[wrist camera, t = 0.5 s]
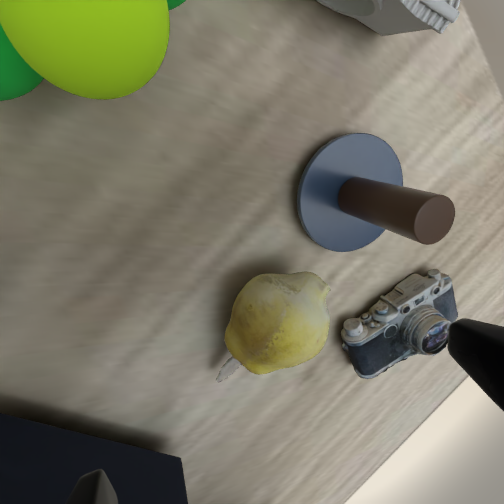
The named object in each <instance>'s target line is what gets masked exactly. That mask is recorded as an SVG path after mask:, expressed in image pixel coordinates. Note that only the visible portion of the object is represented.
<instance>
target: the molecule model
mask: <svg viewBox="0 0 504 504" xmlns="http://www.w3.org/2000/svg"><path fill="white" fill-rule="evenodd" d="M185 1H186V0H0V101H3V100H9V99H14V98H17V97H20V96H22V95H24V94H26V93H28V92H30V91H31V90H33V89H34V88H35V87H36V86H38V85H39V84H40V82H41V81H42V80H43V79H44V78H45V79H46V80H47V81H49V82H50V83H52V84H54V85H55V86H57V87H59V88H61V89H63V90H65V91H67V92H69V93H72V94H75V95H78V96H81V97H86V98H91V99H115V98H120V97H123V96H126V95H129V94H131V93H133V92H135V91H137V90H138V89H140V88H141V87H143V86H144V85H145V84H146V83H147V82H148V81H149V80H150V79H151V78H152V77H153V76H154V75H155V73H156V72H157V70H158V69H159V67H160V65H161V63H162V61H163V59H164V56H165V53H166V50H167V45H168V40H169V31H170V20H169V10H171V9H174V8H176V7H178V6H179V5H181V4H182V3H183V2H185Z"/></svg>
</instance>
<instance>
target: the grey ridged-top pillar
mask: <svg viewBox="0 0 504 504" xmlns="http://www.w3.org/2000/svg"><path fill="white" fill-rule="evenodd" d="M316 1H318V2H319V3H321V4H322V5H324V6H326V7H328V8H329V9H331V10H334V11H336V12H338V13H341V14H343V15H347V16H350V17H353V18H355V19H357V20H358V21H360V22H361V23H363V24H365V25H366V26H368V27H369V28H371V29H372V30H374V31H375V32H377V33H378V34H380V35H381V36H385V35H392V34H399V33H406V32H413V31H420V30H427V29H433V30H435V31H436V32H438V33H439V34H440V33H443V31H444V30H445V28H446V27H447V26H448V24H449V23H450V22H451V23H453V22H455V21H456V19H457V18H458V16H459V11H458V10H457V9H458V6H459V3H460V0H316Z"/></svg>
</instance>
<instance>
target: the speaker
mask: <svg viewBox="0 0 504 504" xmlns="http://www.w3.org/2000/svg"><path fill="white" fill-rule="evenodd" d="M98 469H102V470H103V471H104V472H105V474H106V476H107V477H108V479H109V481H110V483H111V485H112V487H113V489H114V491H115V493H116V496H117V500H118V504H188V500H187V494H186V487H185V481H184V474H183V468H182V462H181V458H179V457H175V456H171V455H167V454H163V453H159V452H155V451H151V450H147V449H143V448H139V447H135V446H131V445H127V444H123V443H119V442H115V441H111V440H107V439H103V438H99V437H95V436H91V435H86V434H82V433H78V432H74V431H70V430H66V429H62V428H58V427H54V426H50V425H46V424H42V423H38V422H34V421H30V420H26V419H22V418H18V417H14V416H10V415H6V414H2V413H0V504H65V503H66V502H67V500H68V498H69V496H70V494H71V493H72V491H73V489H74V487H75V485H76V483H77V482H78V480H79V479H80V478H81V477H82V476H83V475H85V474H88V473H90V472H93V471H95V470H98Z"/></svg>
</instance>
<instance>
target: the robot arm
mask: <svg viewBox="0 0 504 504" xmlns="http://www.w3.org/2000/svg"><path fill="white" fill-rule="evenodd" d="M448 351H449V353H450V355H451V356H452V357H453V358H454V360H455V361H456V362H457V363H458V364H459V365H460V366H461V367H462V368H463V369H464V370H465V371H466V372H467V374H468V375H469V376H470V377H471V378H472V379H473V380H474V381H475V382H476V383H477V384H478V385H479V386H480V387H481V389H482V390H483V391H484V392H485V393H486V394H487V395H488V396H489V397H490V398H491V399H492V400H493V401H494V402H495V403H496V404H497V405H498V406H499V407H500V408H501V409H502V410H503V411H504V327H502V326H498V325H493V324H489V323H484V322H480V321H475V320H471V319H466V318H464V319H460V320H457V321H455V322H453V323H451V324H450V325H449V331H448ZM65 504H118V500H117V496H116V493H115V491H114V489H113V487H112V485H111V483H110V481H109V479H108V477H107V476H106V474H105V472H104V471H103V470H102V469H98V470H95V471H93V472H90V473H88V474H85V475H83V476H82V477H81V478H80V479H79V480H78V482H77V483H76V485H75V487H74V489H73V491H72V493H71V494H70V496H69V498H68V500H67V502H66V503H65Z"/></svg>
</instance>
